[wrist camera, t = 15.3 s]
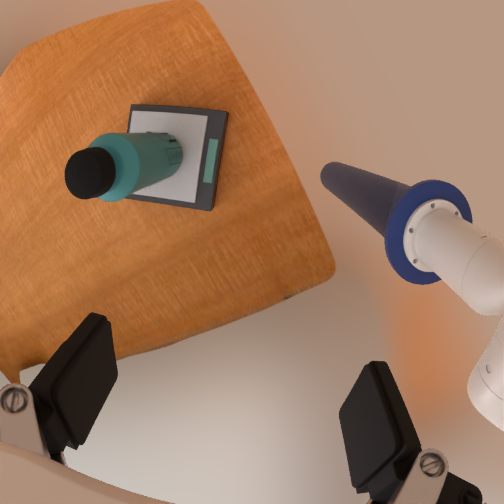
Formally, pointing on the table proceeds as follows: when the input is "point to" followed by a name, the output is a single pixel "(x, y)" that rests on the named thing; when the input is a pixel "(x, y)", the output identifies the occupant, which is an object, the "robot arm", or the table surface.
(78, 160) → the beverage bottle
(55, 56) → the table surface
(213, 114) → the scale
